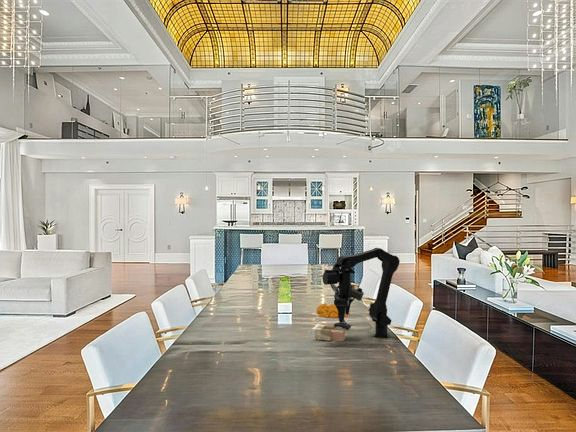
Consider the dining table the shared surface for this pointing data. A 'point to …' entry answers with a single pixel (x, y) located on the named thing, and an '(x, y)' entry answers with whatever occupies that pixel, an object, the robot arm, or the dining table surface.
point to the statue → (342, 324)
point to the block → (323, 332)
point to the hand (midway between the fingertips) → (345, 316)
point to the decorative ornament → (328, 311)
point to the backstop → (314, 331)
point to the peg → (337, 335)
